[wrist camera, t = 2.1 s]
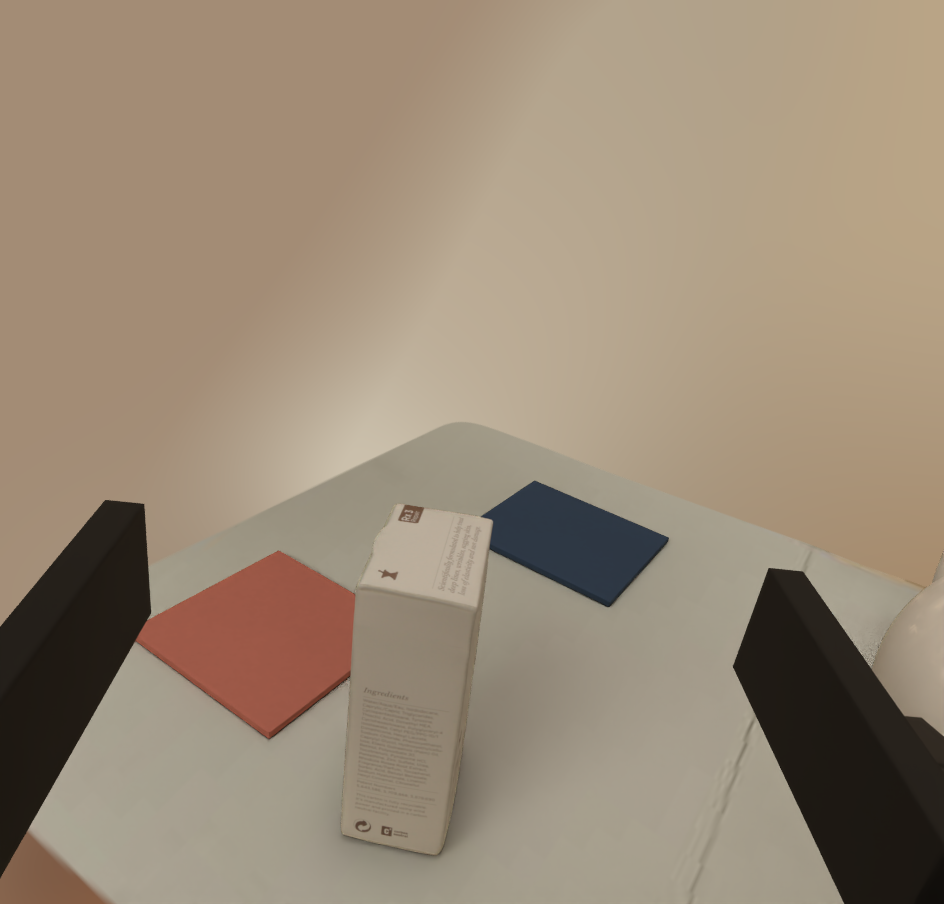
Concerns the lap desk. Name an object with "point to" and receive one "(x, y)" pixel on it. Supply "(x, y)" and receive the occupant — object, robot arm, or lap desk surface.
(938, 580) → the teapot
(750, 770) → the lap desk surface
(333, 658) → the rose mat
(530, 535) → the blue mat
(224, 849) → the lap desk surface
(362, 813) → the cosmetic box
